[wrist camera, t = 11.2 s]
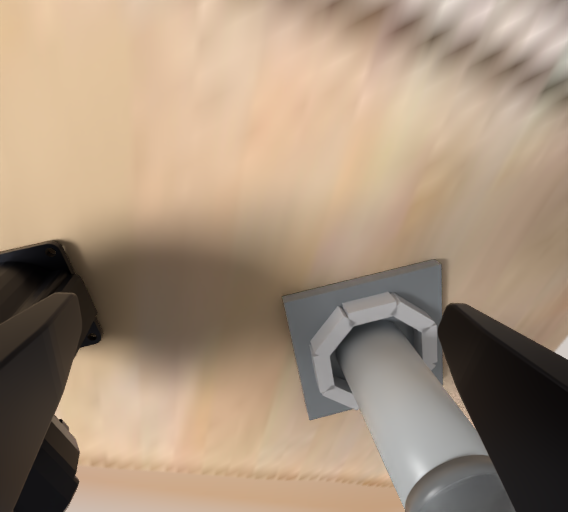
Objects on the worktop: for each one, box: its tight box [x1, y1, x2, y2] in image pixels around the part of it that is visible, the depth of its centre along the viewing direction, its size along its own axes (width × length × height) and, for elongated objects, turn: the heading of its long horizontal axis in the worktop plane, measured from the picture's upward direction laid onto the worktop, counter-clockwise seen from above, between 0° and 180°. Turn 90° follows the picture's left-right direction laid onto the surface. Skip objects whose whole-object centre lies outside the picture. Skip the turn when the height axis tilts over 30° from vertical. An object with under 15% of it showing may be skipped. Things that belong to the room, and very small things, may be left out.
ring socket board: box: [282, 259, 443, 420], centre depth 26 cm, size 10×10×2 cm
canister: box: [336, 319, 515, 512], centre depth 21 cm, size 5×5×11 cm
